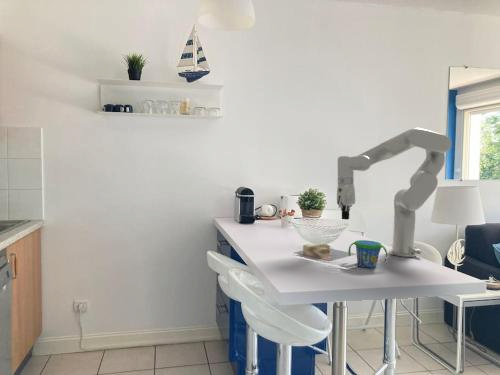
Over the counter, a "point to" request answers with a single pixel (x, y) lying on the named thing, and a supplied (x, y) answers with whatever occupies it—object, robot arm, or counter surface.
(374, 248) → the snack cup
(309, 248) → the t block
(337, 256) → the board
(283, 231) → the counter surface
